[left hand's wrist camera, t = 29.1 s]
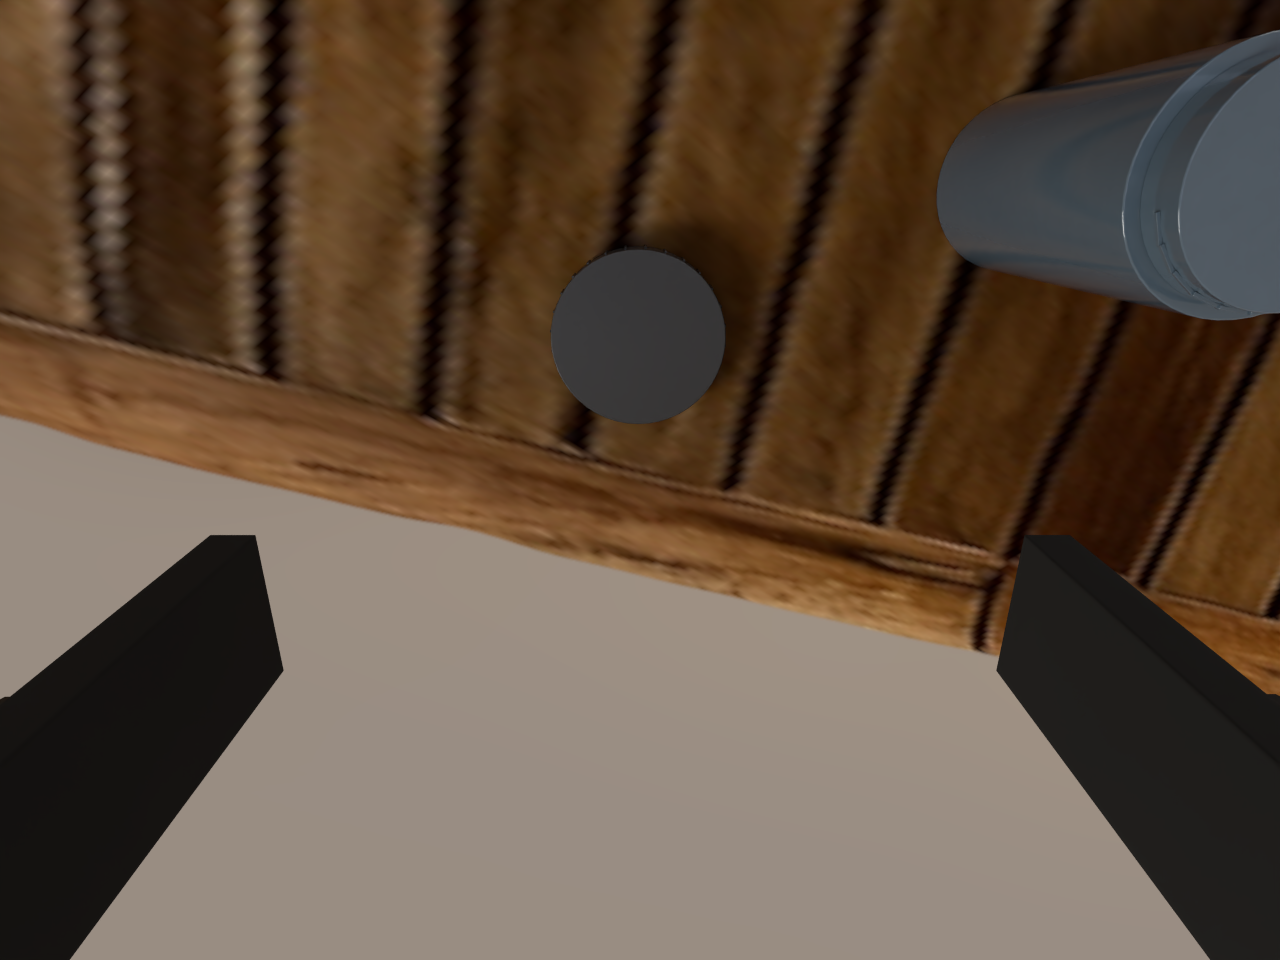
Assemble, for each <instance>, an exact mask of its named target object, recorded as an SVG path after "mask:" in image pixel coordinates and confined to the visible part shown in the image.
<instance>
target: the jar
mask: <svg viewBox="0 0 1280 960" xmlns="http://www.w3.org/2000/svg"><path fill="white" fill-rule="evenodd" d="M937 209H938V216H939V220H940V223H941V227H942V229H943V231H944V233H945V236H946V237H947V239H948V241H949V242H950V244H951V245H952V246H953V247H954V249H955V250H956V251H957V252H958V253H959V254H960V255H961V256H963V257H964V258H965V259H966V260H968V261H970V262H971V263H973V264H975V265H977V266H980V267H982V268H985V269H989V270H993V271H998V272H1002V273H1006V274H1011V275H1015V276H1019V277H1024V278H1028V279H1032V280H1036V281H1041V282H1045V283H1049V284H1054V285H1058V286H1062V287H1067V288H1071V289H1075V290H1080V291H1084V292H1088V293H1093V294H1097V295H1101V296H1106V297H1110V298H1114V299H1119V300H1123V301H1127V302H1131V303H1136V304H1140V305H1144V306H1149V307H1153V308H1157V309H1162V310H1166V311H1170V312H1175V313H1179V314H1183V315H1188V316H1192V317H1196V318H1201V319H1210V320H1236V319H1242V318H1249V317H1253V316H1257V315H1261V314H1268V313H1280V30H1276V31H1270V32H1266V33H1262V34H1258V35H1254V36H1250V37H1246V38H1242V39H1238V40H1234V41H1230V42H1226V43H1222V44H1218V45H1214V46H1210V47H1206V48H1202V49H1198V50H1194V51H1190V52H1186V53H1182V54H1178V55H1174V56H1170V57H1166V58H1162V59H1158V60H1154V61H1150V62H1146V63H1142V64H1138V65H1134V66H1130V67H1126V68H1122V69H1118V70H1114V71H1110V72H1106V73H1102V74H1098V75H1094V76H1090V77H1086V78H1082V79H1078V80H1074V81H1070V82H1066V83H1062V84H1058V85H1054V86H1050V87H1046V88H1042V89H1038V90H1034V91H1030V92H1026V93H1022V94H1018V95H1014V96H1011V97H1008V98H1005V99H1003V100H1001V101H999V102H997V103H995V104H993V105H991V106H990V107H988V108H986V109H985V110H983V111H982V112H981V113H980V114H978V115H977V116H976V117H975V118H974V119H973V120H972V121H971V122H970V123H969V124H968V125H967V126H966V127H965V128H964V129H963V130H962V131H961V133H960V134H959V135H958V136H957V138H956V140H955V141H954V143H953V144H952V146H951V147H950V149H949V151H948V154H947V156H946V158H945V160H944V163H943V166H942V168H941V172H940V176H939V180H938V187H937Z"/></svg>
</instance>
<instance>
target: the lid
mask: <svg viewBox="0 0 1280 960" xmlns="http://www.w3.org/2000/svg"><path fill="white" fill-rule="evenodd" d="M572 278H573V279H572V280H571V281H570V282H569V284H568V285H567V287H566V288H565V289H563V290H562V292H561V293H560V294H561V297H560V299H559V301H558V303H557V306H556V308H555V309H554V311H553V313H554V315H553V320H552V326H551V330H550V332H551V346H552V353H553V357H554V361H555V364H556V367H557V370H558V372H559V374H560V376H561V378H562V380H563V382H564V383H565V385H566V386H567V387H568V389H569V390H570V392H571V393H572V394H573V395H574V396H575V397H576V398H577V399H578V400H579V401H580V402H581V403H582V404H584V405H585V406H586V407H587V408H589V409H591V410H592V411H594V412H595V413H597V414H599V415H601V416H603V417H605V418H608V419H611V420H614V421H618V422H623V423H632V424H645V423H653V422H658V421H662V420H665V419H668V418H671V417H673V416H675V415H677V414H680V413H681V412H683V411H684V410H686V409H688V408H689V407H690V406H692V405H693V404H694V403H695V402H697V401H698V400H699V399H700V398H701V397H702V395H703V394H704V393H705V392H706V391H707V390H708V388H709V387H710V385H711V384H712V382H713V381H714V379H715V377H716V375H717V373H718V371H719V368H720V366H721V363H722V359H723V355H724V349H725V346H726V345H725V327H726V325H725V323H724V318H723V314H722V311H721V308H722V306H721V305H720V303H719V302H718V300H717V298H716V296H715V294H714V293H713V291H712V290H713V288H712V286H711V285H710V284H709V285H708V283H707V282H706V281H705V279H704V278H703V277H702V276H701V272H700V271H699V270H698V269H697V270H696V269H695V268H694V267H692V266H691V265H690V264H689V263H687V262H686V261H685V259H684V258H683V257H681V258H680V257H678V256H676V255H674V254H672V253H669V252H667V251H666V249H664V250H661V249H657V248H652V247H647V245H644V247H642V246H635V247H627V245H626V246H624V248H620V249H615V250H613V251H610V252H608V250H607V251H605V253H604V254H602V255H601V256H599V257H597V258H595V259H593V260H592V261H591V260H589V261H588V262H587V264H586V265H585V266H584V267H583V268H582V269H581V270H580V271H579V272H578V273H577V274H576V273H574V275H573V276H572Z"/></svg>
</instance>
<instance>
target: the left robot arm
mask: <svg viewBox="0 0 1280 960" xmlns="http://www.w3.org/2000/svg"><path fill="white" fill-rule="evenodd" d="M282 672H283V666H282V661H281V656H280V651H279V646H278V642H277V637H276V632H275V627H274V622H273V618H272V613H271V608H270V603H269V598H268V594H267V589H266V585H265V579H264V575H263V570H262V565H261V560H260V556H259V551H258V546H257V541H256V536H255V535H210V536H209V537H208V538H206V539H205V540H204V541H203V542H201V543H200V544H199V545H198V546H196V547H195V548H194V549H193V550H192V551H190V552H189V553H188V554H187V555H185V556H184V557H183V558H182V559H180V560H179V561H178V562H177V563H175V564H174V565H173V566H172V567H170V568H169V569H168V570H167V571H165V572H164V573H163V574H162V575H161V576H159V577H158V578H157V579H156V580H154V581H153V582H152V583H151V584H149V585H148V586H147V587H146V588H144V589H143V590H142V591H141V592H139V593H138V594H137V595H136V596H134V597H133V598H132V599H131V600H130V601H128V602H127V603H126V604H125V605H123V606H122V607H121V608H120V609H118V610H117V611H116V612H115V613H113V614H112V615H111V616H110V617H108V618H107V619H106V620H105V621H103V622H102V623H101V624H100V625H99V626H97V627H96V628H95V629H94V630H92V631H91V632H90V633H89V634H87V635H86V636H85V637H84V638H82V639H81V640H80V641H79V642H77V643H76V644H75V645H74V646H72V647H71V648H70V649H69V650H67V651H66V652H65V653H64V654H63V655H61V656H60V657H59V658H58V659H56V660H55V661H54V662H53V663H51V664H50V665H49V666H48V667H46V668H45V669H44V670H43V671H41V672H40V673H39V674H38V675H36V676H35V677H34V678H33V679H32V680H30V681H29V682H28V683H27V684H25V685H24V686H23V687H22V688H20V689H19V690H18V691H17V692H16V693H14V694H13V695H12V696H11V697H4V698H2V699H0V960H70V959H71V957H72V956H73V955H74V953H75V952H76V951H77V949H78V948H79V946H80V945H81V944H82V942H83V941H84V940H85V938H86V937H87V936H88V934H89V933H90V932H91V930H92V929H93V928H94V926H95V925H96V923H97V922H98V921H99V919H100V918H101V917H102V915H103V914H104V913H105V911H106V910H107V909H108V907H109V906H110V904H111V903H112V902H113V900H114V899H115V898H116V896H117V895H118V894H119V892H120V891H121V890H122V888H123V887H124V886H125V884H126V883H127V882H128V880H129V879H130V877H131V876H132V875H133V873H134V872H135V871H136V869H137V868H138V867H139V865H140V864H141V863H142V861H143V860H144V859H145V857H146V856H147V855H148V853H149V852H150V850H151V849H152V848H153V846H154V845H155V844H156V842H157V841H158V840H159V838H160V837H161V836H162V834H163V833H164V832H165V830H166V829H167V828H168V826H169V825H170V823H171V822H172V821H173V819H174V818H175V817H176V815H177V814H178V813H179V811H180V810H181V809H182V807H183V806H184V804H185V803H186V802H187V800H188V799H189V798H190V796H191V795H192V794H193V792H194V791H195V790H196V788H197V787H198V786H199V784H200V783H201V782H202V780H203V779H204V777H205V776H206V775H207V773H208V772H209V771H210V769H211V768H212V767H213V765H214V764H215V763H216V761H217V760H218V759H219V757H220V756H221V754H222V753H223V752H224V750H225V749H226V748H227V746H228V745H229V744H230V742H231V741H232V740H233V738H234V737H235V736H236V734H237V733H238V731H239V730H240V729H241V727H242V726H243V725H244V723H245V722H246V721H247V719H248V718H249V717H250V715H251V714H252V713H253V711H254V710H255V708H256V707H257V706H258V704H259V703H260V702H261V700H262V699H263V698H264V696H265V695H266V694H267V692H268V691H269V690H270V688H271V687H272V685H273V684H274V683H275V681H276V680H277V679H278V677H279V676H280V675H281V673H282ZM997 672H998V673H999V675H1000V676H1001V677H1002V679H1003V680H1004V681H1005V683H1006V684H1007V686H1008V687H1009V688H1010V690H1011V691H1012V692H1013V694H1014V695H1015V696H1016V698H1017V699H1018V700H1019V702H1020V703H1021V704H1022V706H1023V707H1024V708H1025V710H1026V711H1027V713H1028V714H1029V715H1030V717H1031V718H1032V719H1033V721H1034V722H1035V723H1036V725H1037V726H1038V727H1039V729H1040V730H1041V732H1042V733H1043V734H1044V736H1045V737H1046V738H1047V740H1048V741H1049V742H1050V744H1051V745H1052V746H1053V748H1054V749H1055V750H1056V752H1057V753H1058V754H1059V756H1060V757H1061V759H1062V760H1063V761H1064V763H1065V764H1066V765H1067V767H1068V768H1069V769H1070V771H1071V772H1072V773H1073V775H1074V776H1075V777H1076V779H1077V780H1078V782H1079V783H1080V784H1081V786H1082V787H1083V788H1084V790H1085V791H1086V792H1087V794H1088V795H1089V796H1090V798H1091V799H1092V800H1093V802H1094V803H1095V805H1096V806H1097V807H1098V809H1099V810H1100V811H1101V813H1102V814H1103V815H1104V817H1105V818H1106V819H1107V821H1108V822H1109V823H1110V825H1111V826H1112V828H1113V829H1114V830H1115V831H1116V833H1117V834H1118V836H1119V837H1120V838H1121V840H1122V841H1123V842H1124V844H1125V845H1126V846H1127V848H1128V849H1129V850H1130V852H1131V853H1132V854H1133V856H1134V857H1135V859H1136V860H1137V861H1138V863H1139V864H1140V865H1141V867H1142V868H1143V869H1144V871H1145V872H1146V873H1147V875H1148V876H1149V878H1150V879H1151V880H1152V882H1153V883H1154V884H1155V886H1156V887H1157V888H1158V890H1159V891H1160V892H1161V894H1162V895H1163V896H1164V898H1165V899H1166V901H1167V902H1168V903H1169V905H1170V906H1171V907H1172V909H1173V910H1174V911H1175V913H1176V914H1177V915H1178V917H1179V918H1180V919H1181V921H1182V922H1183V924H1184V925H1185V926H1186V928H1187V929H1188V930H1189V932H1190V933H1191V934H1192V936H1193V937H1194V938H1195V940H1196V941H1197V942H1198V944H1199V945H1200V946H1201V948H1202V949H1203V951H1204V952H1205V953H1206V955H1207V956H1208V957H1209V959H1210V960H1280V696H1278V695H1276V694H1266V693H1265V692H1263V691H1262V690H1261V689H1260V688H1258V687H1257V686H1256V685H1255V684H1253V683H1252V682H1251V681H1250V680H1248V679H1247V678H1246V677H1245V676H1244V675H1242V674H1241V673H1240V672H1239V671H1237V670H1236V669H1235V668H1234V667H1232V666H1231V665H1230V664H1229V663H1227V662H1226V661H1225V660H1224V659H1222V658H1221V657H1220V656H1219V655H1217V654H1216V653H1215V652H1214V651H1213V650H1211V649H1210V648H1209V647H1208V646H1206V645H1205V644H1204V643H1203V642H1201V641H1200V640H1199V639H1198V638H1196V637H1195V636H1194V635H1193V634H1191V633H1190V632H1189V631H1188V630H1186V629H1185V628H1184V627H1183V626H1182V625H1180V624H1179V623H1178V622H1177V621H1175V620H1174V619H1173V618H1172V617H1170V616H1169V615H1168V614H1167V613H1165V612H1164V611H1163V610H1162V609H1160V608H1159V607H1158V606H1157V605H1155V604H1154V603H1153V602H1152V601H1151V600H1149V599H1148V598H1147V597H1146V596H1144V595H1143V594H1142V593H1141V592H1139V591H1138V590H1137V589H1136V588H1134V587H1133V586H1132V585H1131V584H1129V583H1128V582H1127V581H1126V580H1124V579H1123V578H1122V577H1121V576H1120V575H1118V574H1117V573H1116V572H1115V571H1113V570H1112V569H1111V568H1110V567H1108V566H1107V565H1106V564H1105V563H1103V562H1102V561H1101V560H1100V559H1098V558H1097V557H1096V556H1095V555H1094V554H1092V553H1091V552H1090V551H1089V550H1087V549H1086V548H1085V547H1084V546H1082V545H1081V544H1080V543H1079V542H1077V541H1076V540H1075V539H1074V538H1072V537H1071V536H1070V535H1025V536H1024V541H1023V546H1022V551H1021V555H1020V560H1019V565H1018V570H1017V575H1016V579H1015V584H1014V589H1013V594H1012V598H1011V603H1010V608H1009V613H1008V618H1007V622H1006V627H1005V632H1004V637H1003V642H1002V646H1001V651H1000V656H999V661H998V665H997Z"/></svg>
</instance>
